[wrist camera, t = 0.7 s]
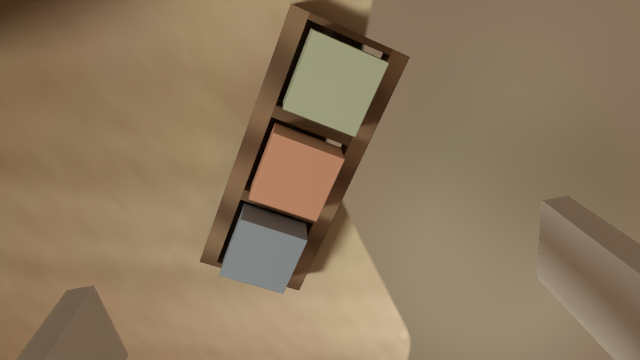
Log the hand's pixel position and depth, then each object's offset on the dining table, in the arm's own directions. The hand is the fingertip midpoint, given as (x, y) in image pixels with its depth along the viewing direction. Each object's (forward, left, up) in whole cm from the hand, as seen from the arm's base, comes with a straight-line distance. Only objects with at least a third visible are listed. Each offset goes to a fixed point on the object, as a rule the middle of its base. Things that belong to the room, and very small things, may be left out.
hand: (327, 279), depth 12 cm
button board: (+1, -5, -25) cm, 26 cm away
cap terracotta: (+1, -5, -23) cm, 24 cm away
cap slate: (+1, -13, -23) cm, 27 cm away
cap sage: (+1, +3, -23) cm, 23 cm away
